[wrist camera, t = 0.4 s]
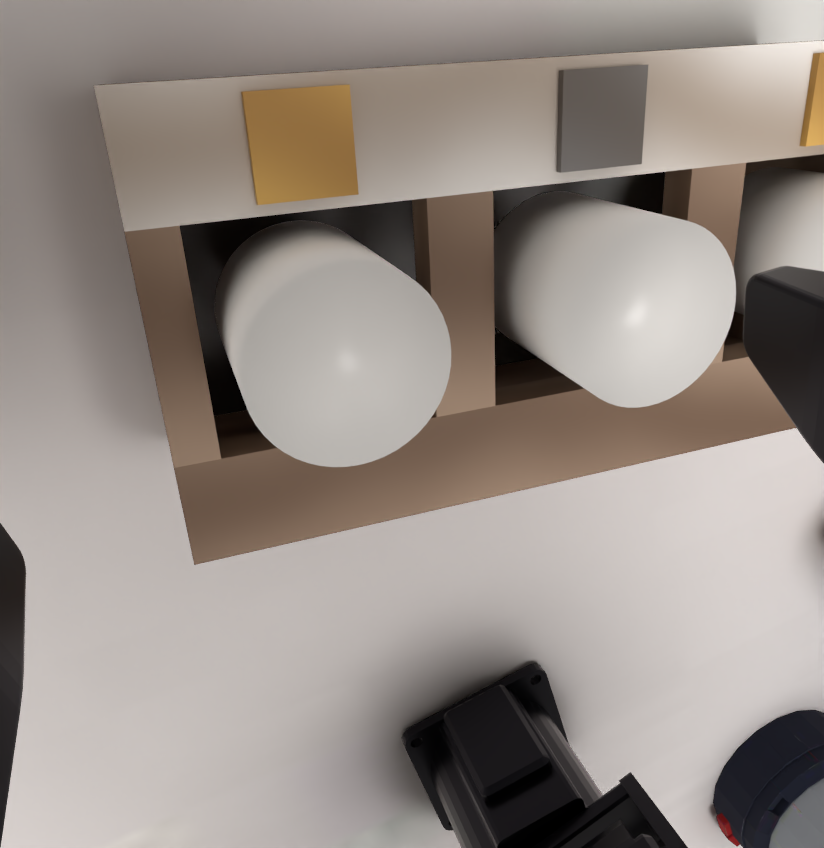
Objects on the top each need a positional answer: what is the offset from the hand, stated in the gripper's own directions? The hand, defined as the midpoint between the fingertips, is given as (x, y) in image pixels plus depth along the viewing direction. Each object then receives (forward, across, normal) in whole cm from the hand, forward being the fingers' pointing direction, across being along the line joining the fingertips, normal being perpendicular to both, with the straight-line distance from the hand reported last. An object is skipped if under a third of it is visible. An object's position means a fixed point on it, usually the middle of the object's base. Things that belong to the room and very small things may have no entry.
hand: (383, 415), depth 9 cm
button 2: (+9, +1, +3) cm, 10 cm away
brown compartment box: (+15, -5, +5) cm, 17 cm away
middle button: (+10, -5, +4) cm, 12 cm away
